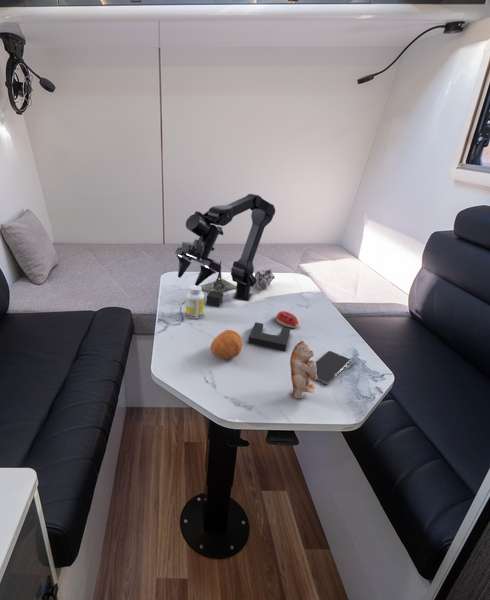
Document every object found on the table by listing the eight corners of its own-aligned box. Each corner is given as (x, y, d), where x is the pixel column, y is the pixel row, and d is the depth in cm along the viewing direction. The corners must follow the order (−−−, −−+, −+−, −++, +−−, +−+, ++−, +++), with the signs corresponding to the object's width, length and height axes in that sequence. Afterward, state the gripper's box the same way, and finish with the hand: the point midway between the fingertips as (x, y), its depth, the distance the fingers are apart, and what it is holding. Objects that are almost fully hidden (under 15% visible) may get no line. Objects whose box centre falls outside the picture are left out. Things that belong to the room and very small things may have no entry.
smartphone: (303, 371, 108) (329, 349, 118) (303, 374, 109) (328, 352, 119) (328, 383, 103) (352, 359, 113) (327, 386, 104) (351, 362, 114)
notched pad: (254, 328, 132) (255, 322, 131) (289, 335, 128) (290, 328, 127) (248, 343, 123) (248, 337, 122) (285, 351, 119) (286, 344, 118)
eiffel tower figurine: (222, 280, 172) (224, 252, 166) (238, 287, 165) (241, 258, 159) (197, 287, 164) (199, 258, 158) (213, 295, 157) (215, 265, 151)
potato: (248, 354, 117) (251, 334, 114) (225, 368, 110) (227, 347, 107) (226, 342, 123) (227, 323, 120) (203, 355, 116) (204, 335, 113)
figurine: (310, 405, 97) (320, 357, 90) (281, 394, 100) (289, 347, 94) (315, 392, 102) (326, 345, 95) (288, 382, 105) (296, 336, 99)
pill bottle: (203, 312, 143) (204, 284, 138) (202, 320, 137) (204, 291, 132) (186, 310, 143) (187, 283, 138) (184, 318, 138) (185, 290, 133)
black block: (210, 299, 153) (210, 290, 151) (222, 301, 151) (223, 292, 149) (206, 304, 149) (206, 295, 147) (218, 307, 147) (219, 298, 145)
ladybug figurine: (283, 315, 142) (285, 307, 140) (303, 326, 134) (305, 318, 132) (270, 319, 138) (271, 311, 137) (289, 331, 131) (291, 322, 129)
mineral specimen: (266, 288, 155) (267, 264, 157) (246, 289, 161) (247, 267, 163) (279, 293, 164) (280, 271, 166) (260, 294, 170) (261, 273, 172)
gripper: (174, 226, 131) (156, 266, 132) (211, 238, 118) (190, 282, 119) (194, 238, 139) (176, 276, 140) (230, 251, 127) (210, 292, 127)
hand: (187, 281), depth 132 cm, fingers open, 9 cm apart
